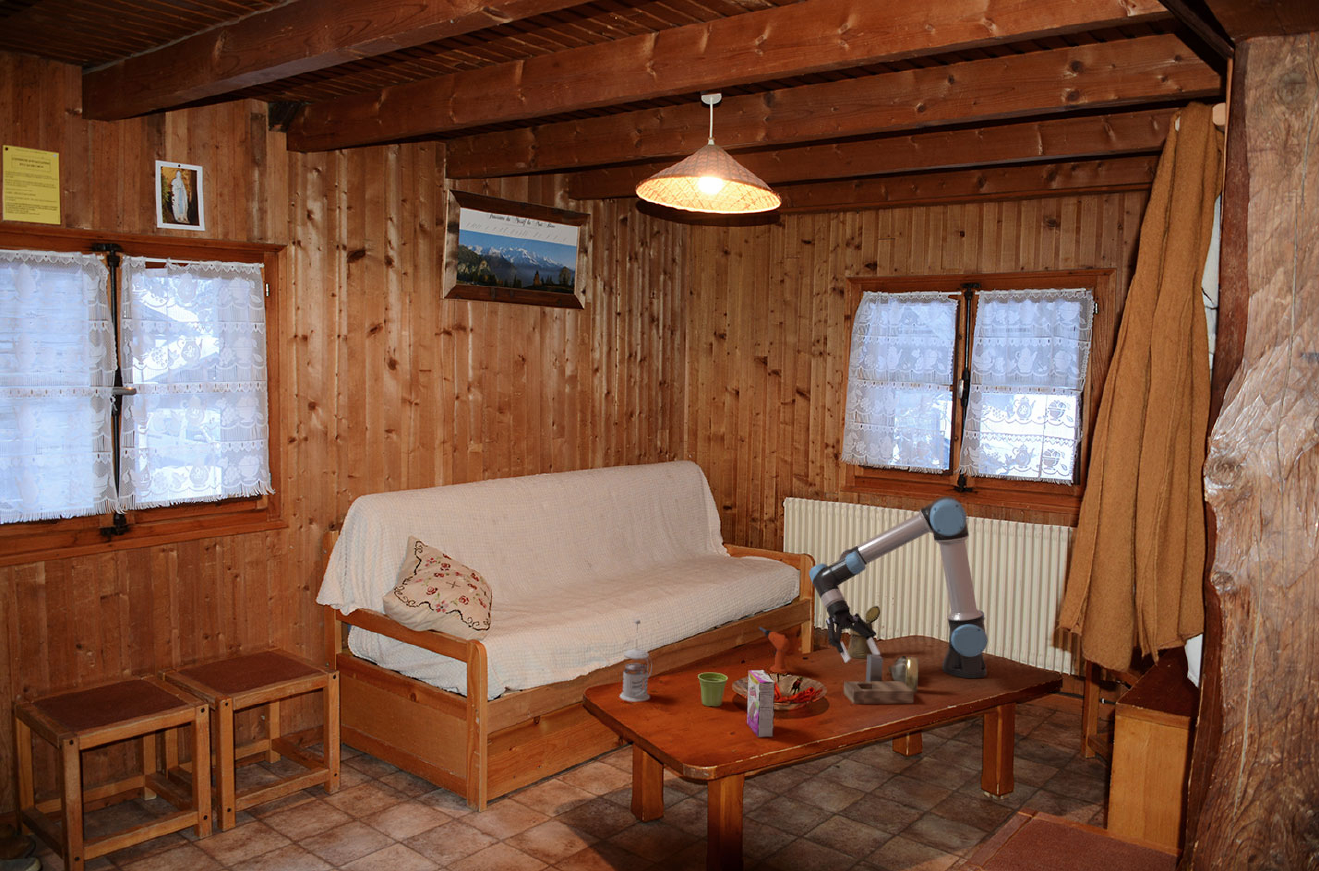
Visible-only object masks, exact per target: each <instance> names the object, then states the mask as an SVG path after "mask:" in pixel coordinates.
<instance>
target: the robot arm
mask: <svg viewBox="0 0 1319 871" xmlns="http://www.w3.org/2000/svg"><path fill="white" fill-rule="evenodd" d="M967 518H968V517H967V513H966V510H965V508H964V506H963V504H962V502H960V501H959V500H958V499H957V498H955V497H953V496H946V495H945V496H941V497H938V498H936V499H935V500H933V501H932V502H931V503H930V504H927V505H926V506H924V507H922V508H921V509H919V511H918V513H917V514H915V515H913V516H911V517H909V518H907V519H906V520H904V521H902V522H900V523H898V524H896V525H894V526H892V527H890V528H888V529H887V530H885V531H883V532H881V533H878V534H877V535H875V536H873V537H871V538H869V539H866V541H863V542H862V543H860V544H857V545H856V546H854V547H852V548H849V549H846V550H844V551H842V553H841V554H840V556H839V559H838V560H837V561H836V562H834V563H832V564H830V565H827V564H826V563H818V564H816V565H814V566H812V567H811V568H810V570H809V571H808V572H809V573H808V575H809V577H810V580H811V583H812V585H813V586H814V588H815V590H816V592H817V594H818V596H819V599H820V600H821V602H822V604H823V606H824V608H825V609H826V612H827V614H828V616H829V617H828V618H827V619H826V620H825V623H826V625H827V637H828V644H829V645H832V647H836V651H838V653H839V654H840V656H841V657H842V659H843V661H844V663H845V664H847V663H848V662H849V661H850V660H852V657H851V656H850V655H849V653H848V649H847V648H846V646H845V644H844V642H843V641H841V639H842V634H843V631H844V630H849V629H850V631H851V630H854V631H856V632H857V633H859V634H860V635H861V636H863V637H864V638H865V639H867V641H866V642H867V644H868V646H869V648H870V650H871V655H880V656H881V652H880V650H879V648H878V644H877V642H876V640H875V636H876V635H877V632H876V631H875V630H873V627H872V628H871V627H870V626H868V625H867V624H866V623H865V622H866V621H865V620H864V619H863V618H862V617H861V616H860V613H858V612H857V613H855V614H851V608H850V607H849V605H848V603H847V601H846V600H845V597H844V595H843V593H842V591H841V589H840V588H839V585H841V584H843V583H844V582H846V581H848V580H850V579H852V578H854V577H855V576H858V575H860V573H862V572H864V571H866V570H865V569H867V566H866V565H868V564H869V563H871V562H874V561H876V560H877V559H879V558H881V557H883V556H886V555H887V554H890V553H891V552H893V551H894V550H897V549H899V548H901V547H903V546H905V545H907V544H909V543H910V542H913V541H915V540H916V539H917V540H918V538H921V537H923V536H924V535H926V534H928V533H931V534H932V535H933V540H934V542H936V543H937V544H939V547H940V549H939V550H940V556H941V561H942V567H943V572H944V577H945V583H946V590H947V596H948V602H949V605H950V613H949V614H948V615H947V621H948V627H949V632H948V633H949V636H948V647H947V648H948V649H947V651H946V654H945V657H944V659H943V661H942V665H941V666H942V668H941V669H942V671H943V672H944V673H945V674H948V675H951V676H954V677H958V678H963V679H964V678H965V679H981V678H984V677H985V676H987V666H986V663H985V658H984V655H983V652H984V651H985V649H986V647H987V645H988V635H987V633H986V628H985V619H986V617H985V612H984V611H983V610H980V609H978V607H977V602H976V596H975V591H974V585H973V580H972V573H971V568H970V560H969V556H968V551H967V544H966V540H967V539H968V537H969V535H970V534H969V530H968V523H967ZM835 625H836V626H835ZM871 633H872V634H871Z"/></svg>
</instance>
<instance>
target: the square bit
mask: <svg viewBox="0 0 1319 871" xmlns="http://www.w3.org/2000/svg"><path fill="white" fill-rule="evenodd" d="M883 661H884V658H883V657H882V656H881V654H880V655H873V654H871V655H867V658H866V671H865V672H866V673H865V681H883V680H882V679H883V663H884V662H883Z"/></svg>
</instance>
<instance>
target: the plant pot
mask: <svg viewBox="0 0 1319 871" xmlns="http://www.w3.org/2000/svg"><path fill="white" fill-rule="evenodd" d="M728 677H729V676H727V675H725V674H723V673H719V672H710V671H709V672H701V673H699V674H697V678H698V681H699V683H700V684H699V685H700V696H701V703H702V705H704V706H706V707H720V706H721V705H722V702H723V697H724V691H725V687H726V686H725V685H726V684H727V681H728V679H729V678H728Z"/></svg>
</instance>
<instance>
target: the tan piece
mask: <svg viewBox="0 0 1319 871" xmlns="http://www.w3.org/2000/svg"><path fill="white" fill-rule="evenodd" d="M880 615H881V609H880V607H879V605H875V606H871V607H870V608H869V609H868V610H867V611H866V613H865V617H864V618H865V621H864V622H865V623H866V624H867V625H868V626H870V627H871V628H872V629H873V623H875V621H877V620H878V619H879V617H880ZM871 634H872V633H871ZM866 641H867V639H865V638H864V637H863V636H861V635H860V634H859V633H857V632H856V631H854V630H851V629H850V640H849V642H848V643H849V644H848V649H847V651H848V653H849V655H850V657H851V658H855V659H867V655H872V652H871V650H870V648H869V646H868V644H867V642H866Z"/></svg>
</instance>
